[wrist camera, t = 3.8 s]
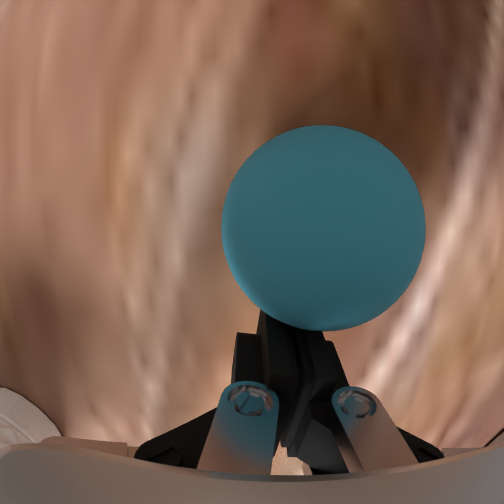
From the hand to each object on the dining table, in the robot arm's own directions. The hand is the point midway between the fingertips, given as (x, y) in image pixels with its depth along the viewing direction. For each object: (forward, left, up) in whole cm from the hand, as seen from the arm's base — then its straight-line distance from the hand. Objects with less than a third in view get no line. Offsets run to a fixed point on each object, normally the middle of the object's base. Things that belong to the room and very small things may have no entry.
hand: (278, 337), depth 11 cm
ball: (0, -4, +1) cm, 4 cm away
